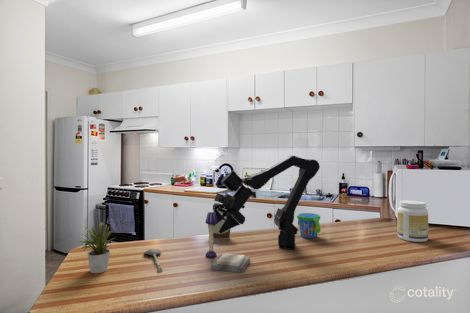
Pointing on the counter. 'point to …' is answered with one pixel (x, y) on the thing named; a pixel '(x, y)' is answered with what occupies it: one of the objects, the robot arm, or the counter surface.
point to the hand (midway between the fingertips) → (214, 229)
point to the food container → (217, 227)
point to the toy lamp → (211, 233)
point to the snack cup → (309, 224)
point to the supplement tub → (412, 221)
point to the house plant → (97, 249)
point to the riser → (230, 263)
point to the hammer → (154, 253)
